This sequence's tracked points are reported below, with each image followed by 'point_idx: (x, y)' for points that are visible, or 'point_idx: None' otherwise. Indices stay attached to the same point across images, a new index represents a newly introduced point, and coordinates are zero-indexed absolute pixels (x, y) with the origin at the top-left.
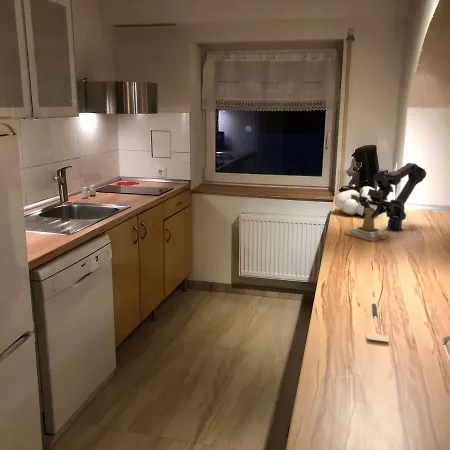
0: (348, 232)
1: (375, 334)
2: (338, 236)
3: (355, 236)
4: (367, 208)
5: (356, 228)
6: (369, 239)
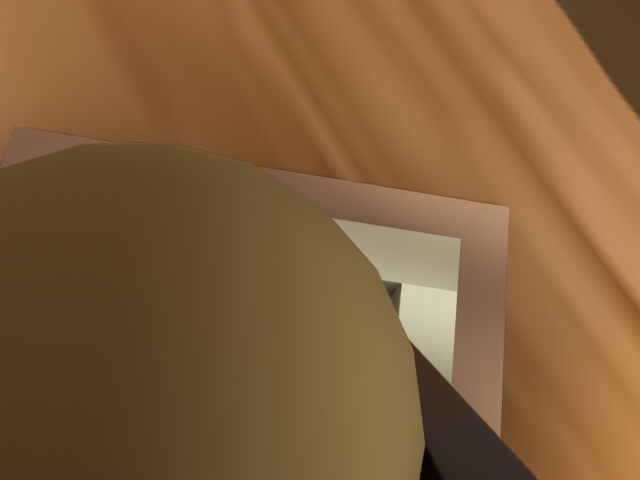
0: (486, 271)
1: None
2: (480, 61)
3: (301, 177)
4: (227, 252)
5: (404, 312)
6: (46, 145)
